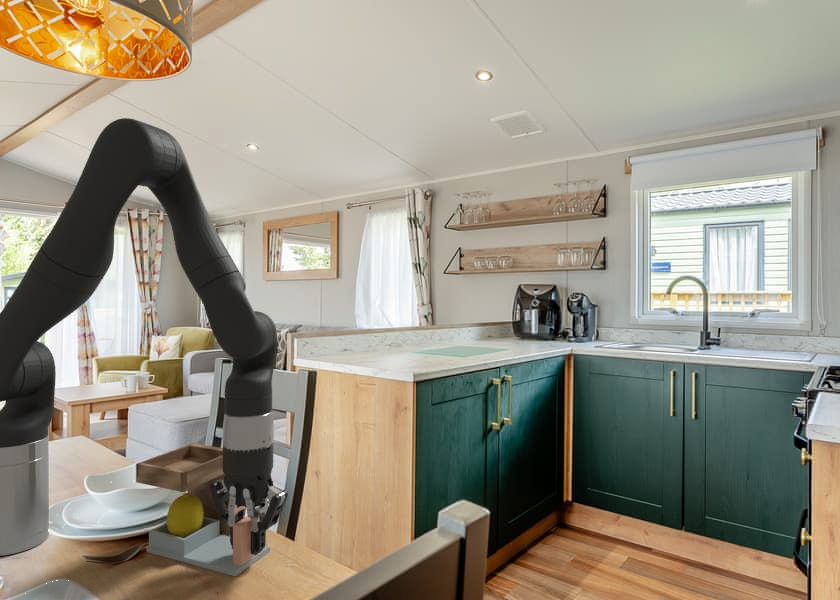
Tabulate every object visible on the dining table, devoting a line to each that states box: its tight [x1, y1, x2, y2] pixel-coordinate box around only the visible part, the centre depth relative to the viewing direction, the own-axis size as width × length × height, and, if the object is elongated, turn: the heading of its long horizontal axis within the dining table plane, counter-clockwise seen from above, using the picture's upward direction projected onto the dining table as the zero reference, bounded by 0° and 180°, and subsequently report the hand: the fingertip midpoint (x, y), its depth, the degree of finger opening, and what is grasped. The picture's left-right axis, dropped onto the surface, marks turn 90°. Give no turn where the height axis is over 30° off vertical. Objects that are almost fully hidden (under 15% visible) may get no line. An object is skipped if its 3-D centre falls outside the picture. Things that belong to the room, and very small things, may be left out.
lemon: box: [166, 492, 204, 538], centre depth 86 cm, size 6×6×8 cm
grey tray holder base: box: [146, 515, 271, 578], centre depth 84 cm, size 18×8×7 cm, turn 68°
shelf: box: [135, 443, 230, 536], centre depth 87 cm, size 10×12×14 cm
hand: (247, 549), depth 81 cm, fingers open, 3 cm apart
